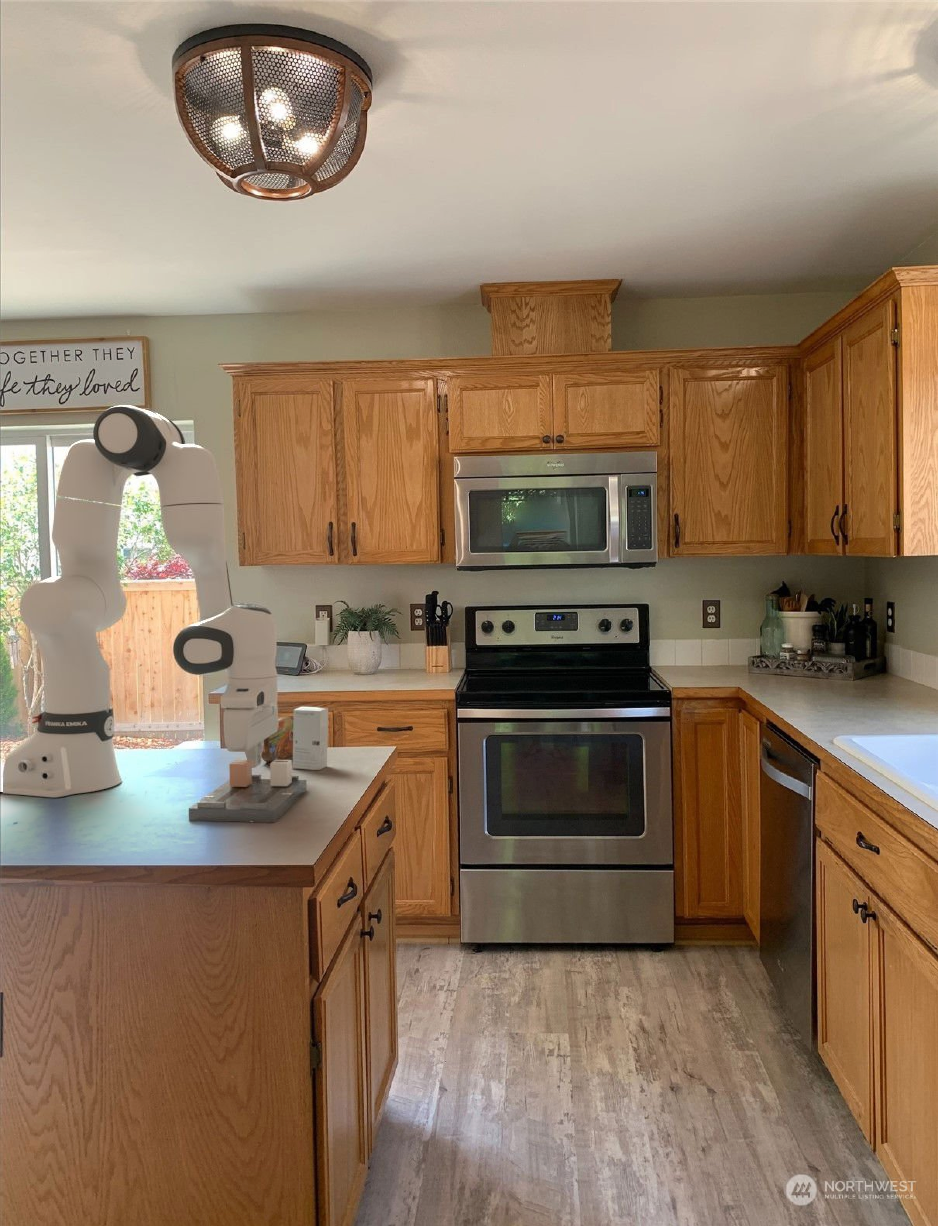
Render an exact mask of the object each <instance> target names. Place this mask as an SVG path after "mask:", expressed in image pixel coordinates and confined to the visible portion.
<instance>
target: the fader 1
mask: <svg viewBox="0 0 938 1226" xmlns="http://www.w3.org/2000/svg"><path fill="white" fill-rule="evenodd" d="M228 767H229V768H228V769H229V780H230V786H231V787H247V786H248V785H250V784H251V783H252V775H253V774H252V773H253V768H252V761H249V760H247V759H241V760H239V759H237V760H236V759H235V760H233V761H232V762H230V763H229V766H228Z"/></svg>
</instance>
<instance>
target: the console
mask: <svg viewBox="0 0 938 1226" xmlns="http://www.w3.org/2000/svg"><path fill="white" fill-rule="evenodd" d="M306 792H307V779H300V776H299V775H292V782H291V783H290V784H289V785H288V786H270V778H267V779H266V778H262V774H252V783H251V784H250V785H248V786H247V787H231V786H230V779H229V780H227V781H226V782H224V783H223V784H222V785H220V786H218V787H217V788H215V789H214V790H212V792H210V793H209V794H207V795H205V796H204V797H202V798H201V799H200V800H199V801H197V802H196V803H194V804H193V805H191V806H190V807H188V821H189V820H190V821H192V822H193V821H194V822H225V821H245V822H244V823H251V822H250V821H253V822H252V823H265V822H268V823H269V822H271V823H272V822H274V823H275V822H277V820H278V819H280V818H281V817H282V816H283V815H284V813H286V812H287V811H288V808H289V809H290V808H291V807H292V806H293V804H295V803H296V802H297V801H298V800H299V799H300V798H302V796H304V794H305V793H306ZM285 811H286V812H285ZM268 823H267V824H268ZM269 824H270V823H269ZM272 824H273V823H272Z"/></svg>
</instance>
